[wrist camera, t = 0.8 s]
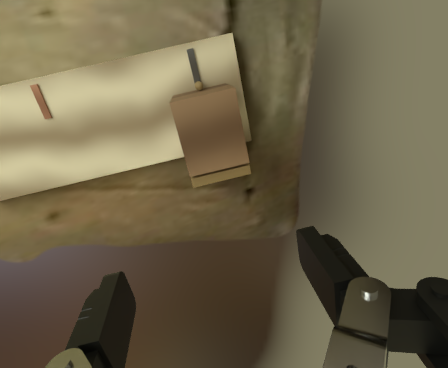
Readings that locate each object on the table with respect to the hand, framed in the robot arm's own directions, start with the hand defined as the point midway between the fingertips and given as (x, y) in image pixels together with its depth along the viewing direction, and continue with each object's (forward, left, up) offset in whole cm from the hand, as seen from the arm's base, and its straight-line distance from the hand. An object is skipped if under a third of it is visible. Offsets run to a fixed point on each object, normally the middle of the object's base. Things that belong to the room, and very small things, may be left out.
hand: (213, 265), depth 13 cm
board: (-5, -8, -20) cm, 22 cm away
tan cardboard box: (-3, +2, -19) cm, 19 cm away
